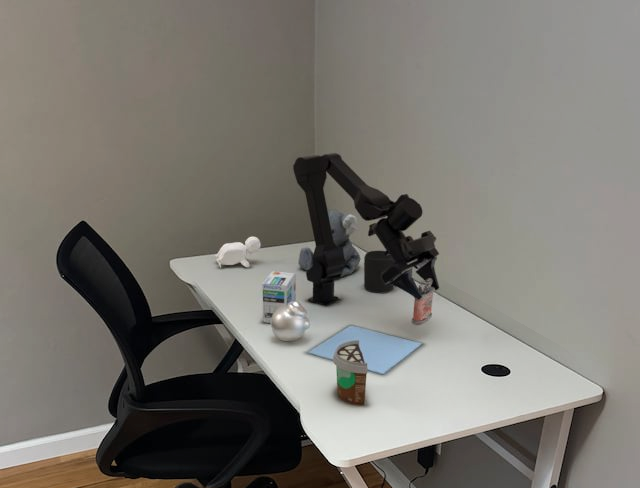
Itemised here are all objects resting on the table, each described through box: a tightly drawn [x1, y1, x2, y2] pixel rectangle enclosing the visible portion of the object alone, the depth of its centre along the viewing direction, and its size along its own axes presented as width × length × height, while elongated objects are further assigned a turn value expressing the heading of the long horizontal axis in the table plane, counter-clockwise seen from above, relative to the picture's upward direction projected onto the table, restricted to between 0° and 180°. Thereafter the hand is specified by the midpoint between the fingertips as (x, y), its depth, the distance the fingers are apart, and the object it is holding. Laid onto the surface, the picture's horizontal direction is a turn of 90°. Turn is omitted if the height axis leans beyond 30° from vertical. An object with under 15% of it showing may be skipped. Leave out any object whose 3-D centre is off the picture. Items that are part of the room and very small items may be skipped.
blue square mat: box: [308, 325, 422, 375], centre depth 168 cm, size 20×20×1 cm
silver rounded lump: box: [270, 300, 311, 342], centre depth 170 cm, size 9×10×10 cm
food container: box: [332, 340, 368, 406], centre depth 145 cm, size 12×6×10 cm, turn 5°
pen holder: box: [363, 250, 395, 294], centre depth 204 cm, size 9×9×10 cm
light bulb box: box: [261, 270, 297, 324], centre depth 183 cm, size 11×7×11 cm, turn 168°
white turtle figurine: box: [214, 236, 262, 269], centre depth 224 cm, size 9×8×15 cm
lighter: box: [411, 278, 436, 326], centre depth 172 cm, size 8×3×10 cm, turn 148°
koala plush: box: [298, 206, 361, 278], centre depth 217 cm, size 17×18×20 cm
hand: (429, 293), depth 170 cm, fingers closed on lighter, 8 cm apart
